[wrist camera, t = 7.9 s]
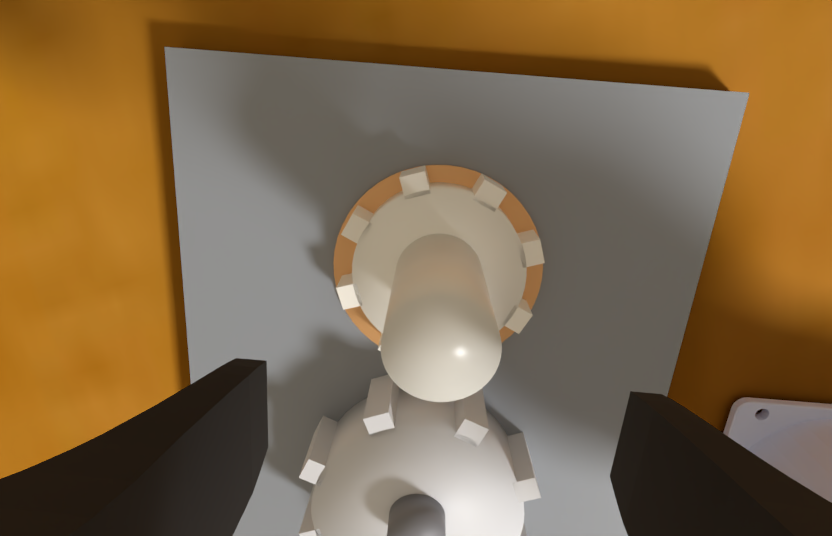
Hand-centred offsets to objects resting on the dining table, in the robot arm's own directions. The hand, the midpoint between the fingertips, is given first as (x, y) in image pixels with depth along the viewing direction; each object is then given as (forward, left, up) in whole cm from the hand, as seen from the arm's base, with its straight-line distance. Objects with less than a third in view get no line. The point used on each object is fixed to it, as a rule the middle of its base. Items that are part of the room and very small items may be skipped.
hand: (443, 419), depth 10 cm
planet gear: (0, -1, -8) cm, 8 cm away
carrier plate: (0, +3, -9) cm, 10 cm away
